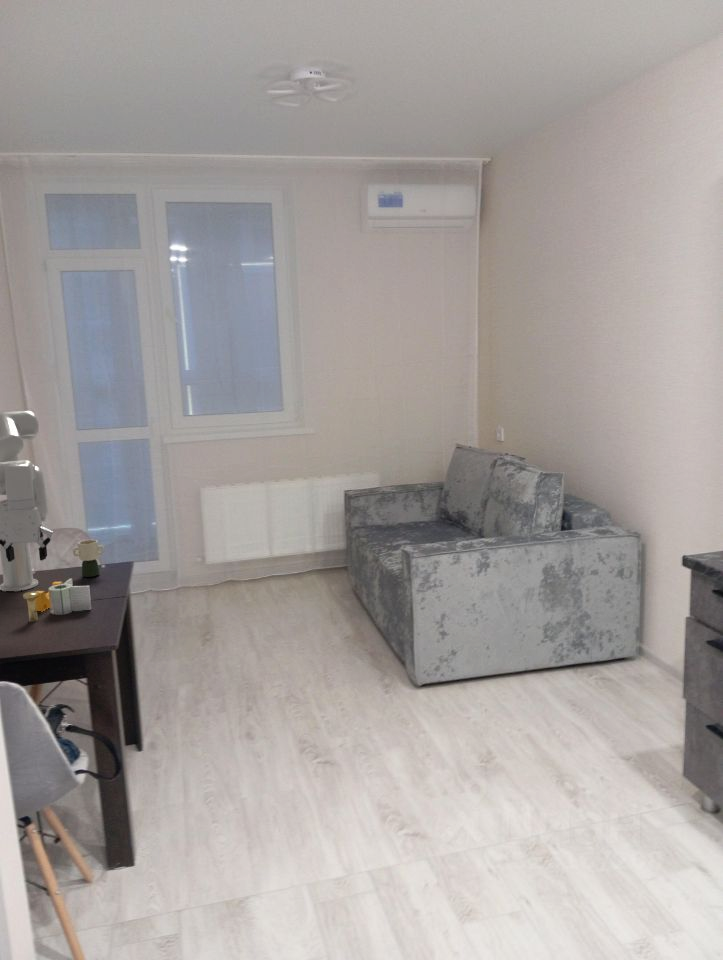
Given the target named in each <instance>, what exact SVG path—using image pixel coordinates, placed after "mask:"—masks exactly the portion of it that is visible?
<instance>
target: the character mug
mask: <svg viewBox="0 0 723 960" xmlns="http://www.w3.org/2000/svg"><path fill="white" fill-rule="evenodd" d="M99 549H100V550H101V551H99ZM76 551H77V552H78V553H77V552H76ZM72 554H73V556H74V557H78V558H79V559H78V560H80V561H82V562H81V576H82V577H85V578H92V577H95V576H97V575H100V569H99V564H98V560H97V559H99V557H100V555H104V554H105V547H104V545H99V542H98V540H97V539H86V540H85V539H84V540H80V541H77V547H75V546H74V547H73V548H72Z"/></svg>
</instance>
